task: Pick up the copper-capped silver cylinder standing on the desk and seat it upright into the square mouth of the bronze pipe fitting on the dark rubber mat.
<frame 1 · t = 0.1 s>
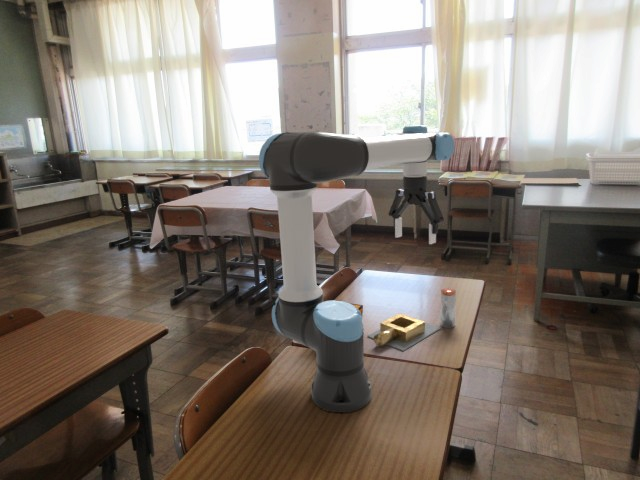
hand: (414, 240, 146), 28 cm above the table, fingers open, 13 cm apart
toy: (341, 338, 142), on the table
copper-capped silver cylinder: (447, 324, 147), on the table
fitting socket: (402, 333, 142), resting on mat
mat: (404, 332, 143), on the table
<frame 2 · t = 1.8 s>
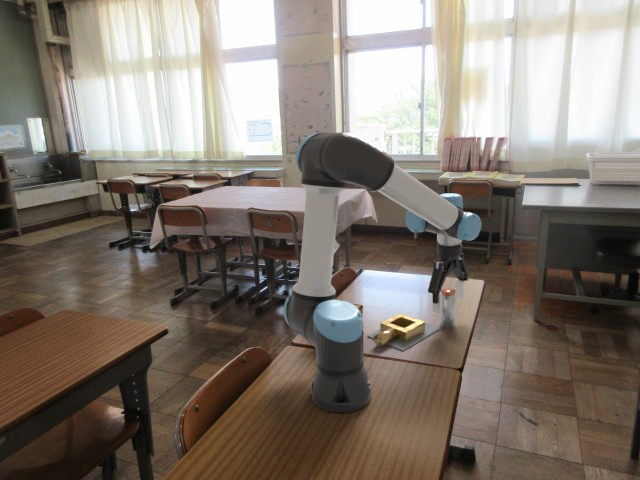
hand: (448, 305, 145), 7 cm above the table, fingers open, 13 cm apart
nothing on the table moved.
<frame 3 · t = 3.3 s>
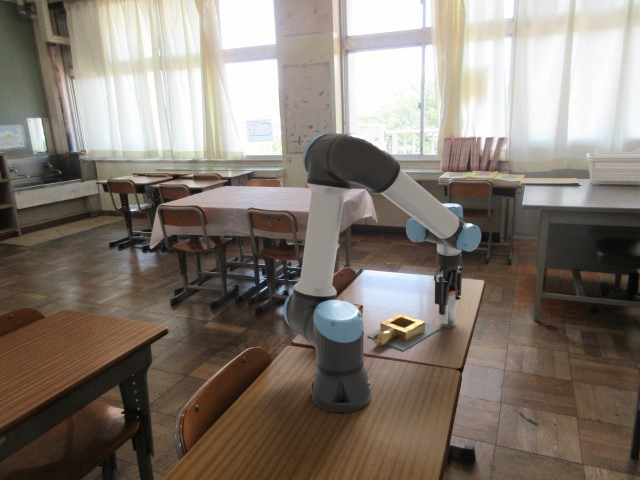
hand: (447, 320, 146), 2 cm above the table, fingers closed on copper-capped silver cylinder, 5 cm apart
copper-capped silver cylinder: (447, 324, 147), on the table, touching gripper
everything else where it was.
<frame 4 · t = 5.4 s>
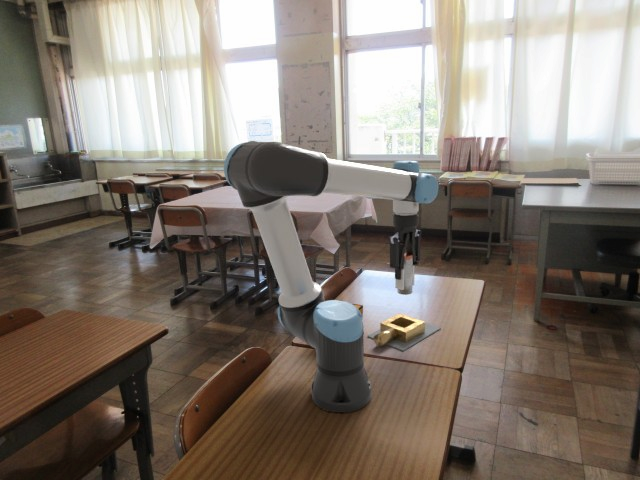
hand: (404, 286, 138), 16 cm above the table, fingers closed on copper-capped silver cylinder, 4 cm apart
copper-capped silver cylinder: (404, 292, 139), point 14 cm above the table, touching gripper
everything else where it was.
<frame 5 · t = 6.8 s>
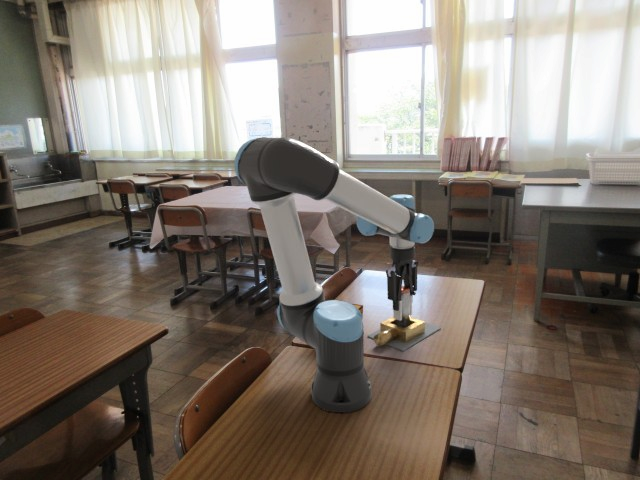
hand: (402, 316, 141), 6 cm above the table, fingers closed on copper-capped silver cylinder, 5 cm apart
copper-capped silver cylinder: (402, 324, 141), point 3 cm above the table, touching gripper
everything else where it was.
when the fingers open (5 cm above the table, at t = 7.5 s): copper-capped silver cylinder drops 2 cm, resting on mat.
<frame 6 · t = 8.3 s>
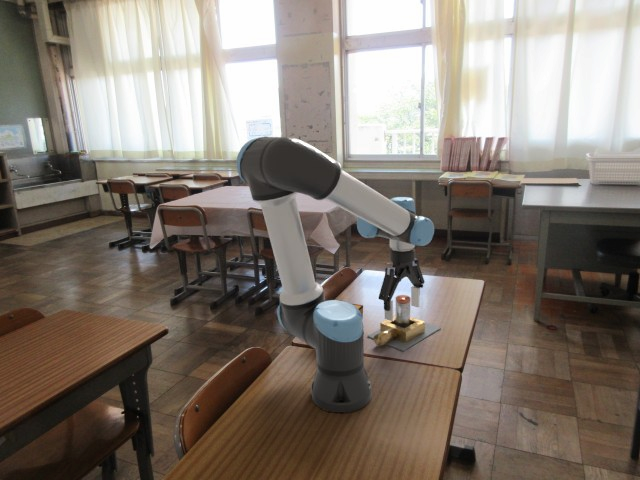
hand: (402, 312, 140), 7 cm above the table, fingers open, 13 cm apart
copper-capped silver cylinder: (402, 332, 142), point 1 cm above the table, touching mat
everything else where it was.
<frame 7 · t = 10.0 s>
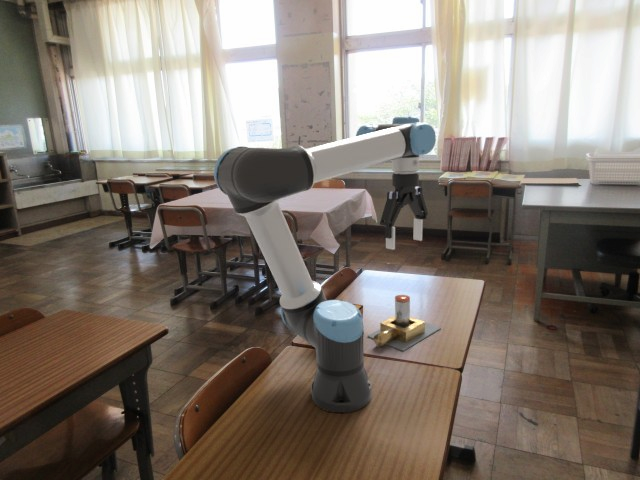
hand: (404, 244, 132), 31 cm above the table, fingers open, 13 cm apart
nothing on the table moved.
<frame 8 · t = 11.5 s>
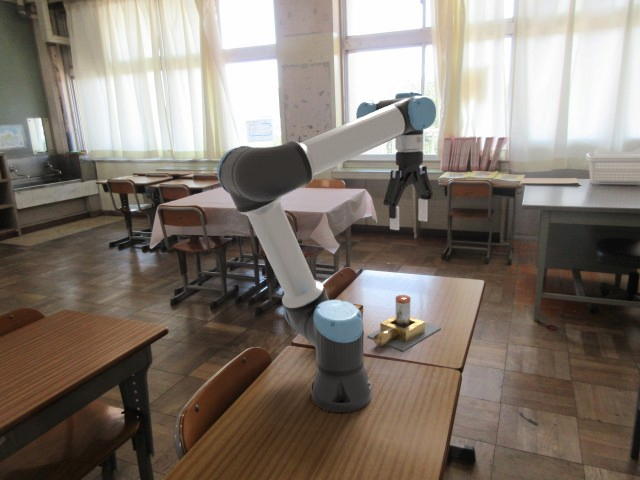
hand: (409, 225, 129), 37 cm above the table, fingers open, 13 cm apart
nothing on the table moved.
at the end: copper-capped silver cylinder 0.0 cm off-centre on the fitting socket, point 0.5 cm above the fitting socket's base; copper-capped silver cylinder tilted 2°; the gripper is holding nothing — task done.
